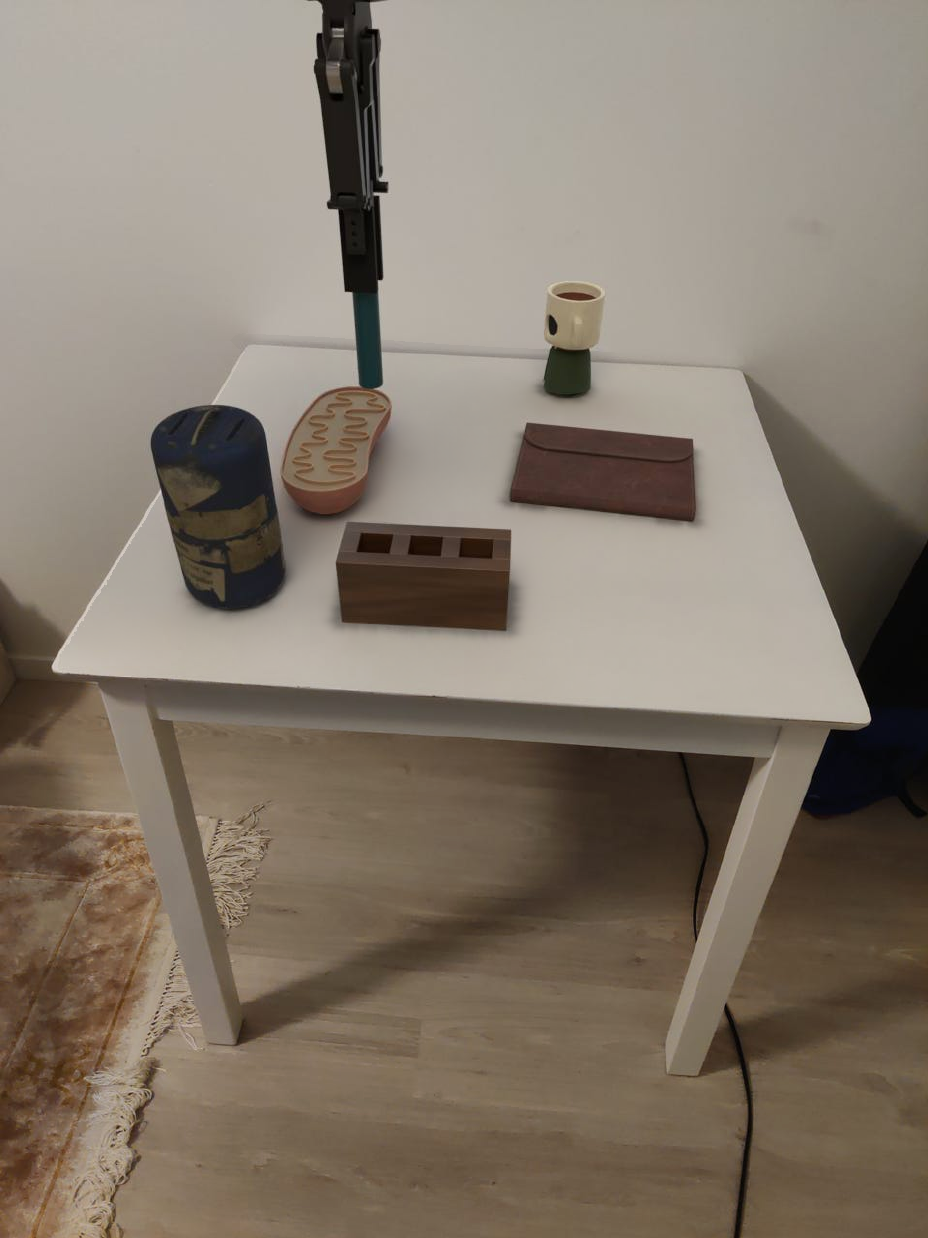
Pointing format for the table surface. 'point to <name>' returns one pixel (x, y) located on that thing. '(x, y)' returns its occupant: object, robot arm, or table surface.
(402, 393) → the table surface
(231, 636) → the table surface
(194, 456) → the canister
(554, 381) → the character mug
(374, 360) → the pen
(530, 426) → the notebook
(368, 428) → the anatomical model
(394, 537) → the pen holder
